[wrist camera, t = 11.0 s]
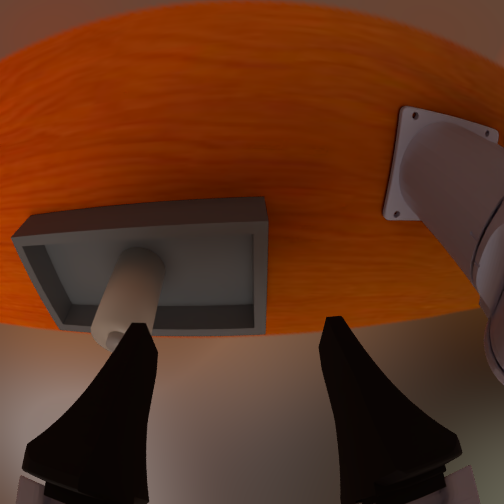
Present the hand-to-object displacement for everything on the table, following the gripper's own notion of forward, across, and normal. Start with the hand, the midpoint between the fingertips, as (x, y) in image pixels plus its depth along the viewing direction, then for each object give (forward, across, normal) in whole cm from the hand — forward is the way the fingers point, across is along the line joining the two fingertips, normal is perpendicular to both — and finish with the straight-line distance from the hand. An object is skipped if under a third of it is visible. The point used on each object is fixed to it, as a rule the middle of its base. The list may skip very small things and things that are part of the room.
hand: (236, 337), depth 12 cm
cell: (+9, +7, +3) cm, 12 cm away
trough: (+9, +7, +3) cm, 12 cm away
